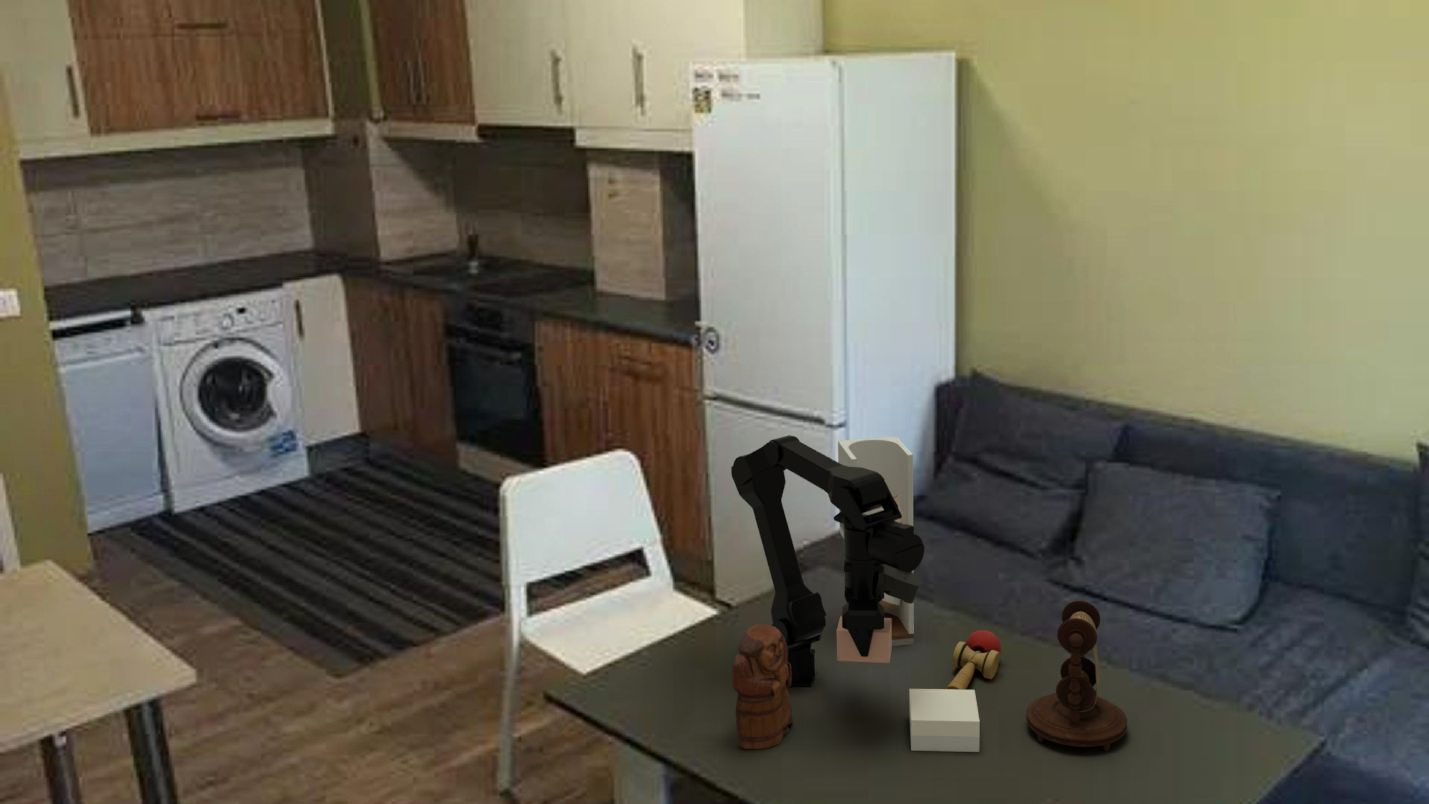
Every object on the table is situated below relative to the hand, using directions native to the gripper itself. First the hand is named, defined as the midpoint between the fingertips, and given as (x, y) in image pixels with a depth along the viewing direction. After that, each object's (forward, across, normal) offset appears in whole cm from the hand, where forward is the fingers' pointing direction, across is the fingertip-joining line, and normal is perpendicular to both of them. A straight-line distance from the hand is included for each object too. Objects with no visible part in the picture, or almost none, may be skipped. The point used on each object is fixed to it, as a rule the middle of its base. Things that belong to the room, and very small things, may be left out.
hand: (864, 647), depth 200 cm
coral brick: (+1, 0, 0) cm, 1 cm away
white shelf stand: (+12, +31, -2) cm, 33 cm away
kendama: (+12, +14, -17) cm, 25 cm away
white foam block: (+12, -5, -12) cm, 17 cm away
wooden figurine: (+12, -6, +15) cm, 20 cm away
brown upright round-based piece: (+12, -3, -32) cm, 34 cm away
